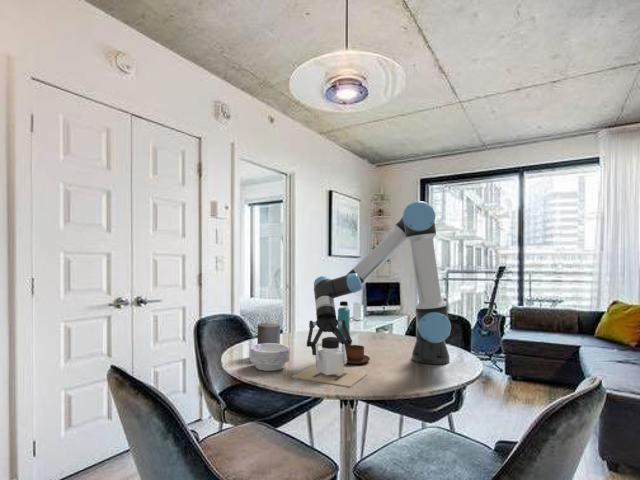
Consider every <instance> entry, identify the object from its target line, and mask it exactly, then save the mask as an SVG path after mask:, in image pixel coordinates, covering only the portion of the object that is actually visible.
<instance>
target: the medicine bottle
mask: <svg viewBox="0 0 640 480" xmlns="http://www.w3.org/2000/svg"><path fill="white" fill-rule="evenodd" d="M339 349H340V341H339V339H338V338H337V337H336V336H325V337H323V338H322V339H321V349H318V354H319V364H318V365H316V366H317V371H319V372H321V373H323V374H325V375H332V374H338V373H343V372H344V370H345V369H344V368H345V366H344V365H345V364H344V353H343V352H342V350H341V351H340V350H339Z"/></svg>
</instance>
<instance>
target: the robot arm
mask: <svg viewBox="0 0 640 480" xmlns="http://www.w3.org/2000/svg"><path fill="white" fill-rule="evenodd" d="M435 220H436V212H435V209H434V208H433V206H431V205H430V204H429V203H428V202H426V201H421V200H418V201H417V200H416V201H413V202H412V203H411V202H410V204H408V205H407V206H406V207H405V209H404V211H403V213H402V217H401V218H400V219H399V221H398V222H397V223H396V224H394V229H393V230H392V231H391V232H390V233H388V234H387V236H385V237H384V238H383V240H381V241H380V242H379V243H378V244H377V245H376V246H375V247H374V248H373V249H372V250H371V251H370V252H369V253H368V254H367V255H366V256H364V257H363V258H362V259H361V260H360V261H359V262H358V263H357V265H355V266H354V267H352V269H351V270H350V271H349V272H347V274H346V275H342V276H339V277H336V278H333V279H331V278H330V277H328V276H318V277H317V278H316V279H315V280H314V281H313V292H314V300H315V301H314V302H315V311H316V313H315V314H316V315H315V316H316V320H315V321H313V320H309V321H308V323H309V325H308V329H309V331H308V336H307V340H306V347H308V348H309V347H310V348H311V353H312V356H315V366H317V365H318V364H319V354H318V350H319V346H318V345H319V344H318V342H319V339H320V338H321V336H322V334H323V333H332V334H333V335H334V337H336V338H338V339H339V344H341V352H343V353H344V365H347V363H346V362H347V356H346V355H348V352H349V351H348V346H351V345H353V344H352V343H353V340H352V337H351V334H350V335H349V333H348V330H347V328H346V326H345V321H344V320H343V321H342V322H339V321H338V318H337V313H336V312H337V311H336V305H335V298H339V297H342V296H343V297H344V296H347V295H350V294H355V293H357V292H360V291H362V289H363V283H365V281H367V280H368V279H369V278H370V277H371V276H372V275H373V274H374V273H375V272H377V270H379V268H380V267H382V265H384V264H385V263H386V262H387V261H388V260H389V259H390V258H392V257H393V256H394V254H395V253H396V252H398V250H400V249H401V248H402V247H403V246H404V245H405V244H406V243H407V242H410V247H411V255H412V262H413V269H414V278H415V283H416V290H417V297H418V303H417V305H415V342H414V347H413V350H412V353H411V359H412V360H413V362H417V363H422V364H427V365H445V363H446V364H448V362H449V363H450V360H451V359H450V353H449V350H448V348H447V344H446V340H447V339H448V338H449V337H450V335H451V330H452V324H451V321H450V319H449V314H448V309H447V308H448V307H447V304H446V303H445V302H444V301H443V300H442V295H441V287H440V280H439V273H438V265H437V259H436V252H435V251H436V250H435V244H434V237H436V236H437V230H436V221H435ZM338 325H339V326H340V328H341V329H342V332H343V334H344V337H345V338H344V337H343V335H342V334H341V333H340V331H339V330H338V328H337V326H338ZM315 327H317V328H318V330H317V333H316V335H315V337H314V339H313V340H312V336H313V331H314V329H315Z"/></svg>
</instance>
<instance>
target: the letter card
mask: <svg viewBox="0 0 640 480" xmlns="http://www.w3.org/2000/svg"><path fill="white" fill-rule="evenodd" d="M366 376H368V373H364V372H357V371H351V370H345V369H344V372H343V373H338V374H332V375H325V374H323V373H321V372H319V371H317V365H312V366H311V367H310V366H309V367H308V368H306V369H304V370H303V371H301V372H298V373H297V374H294V375H293V376H291V378H293V379H296V378H297V379H296V380H304V381H309V382H315V383H322V384H328V385H334V386H340V387H346V388H352V387H353V386H354V385H356V384H357V383H359V381H361V380H363V379H364V378H365V377H366Z"/></svg>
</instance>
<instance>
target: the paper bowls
mask: <svg viewBox="0 0 640 480" xmlns="http://www.w3.org/2000/svg"><path fill="white" fill-rule="evenodd" d="M290 357H291V348H290V346H288V345H287V344H282V343H280V344H276V343H264V344H253V345H252V346H251V347H250V349H249V361H250V363H252V364H253V365H254V366H255V368H256V369H257V370H260V371H262V370H263V372H274V371H279V370H282V369H283V368H284V367H285V364H286V363H288V362H290V359H291V358H290Z"/></svg>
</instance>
